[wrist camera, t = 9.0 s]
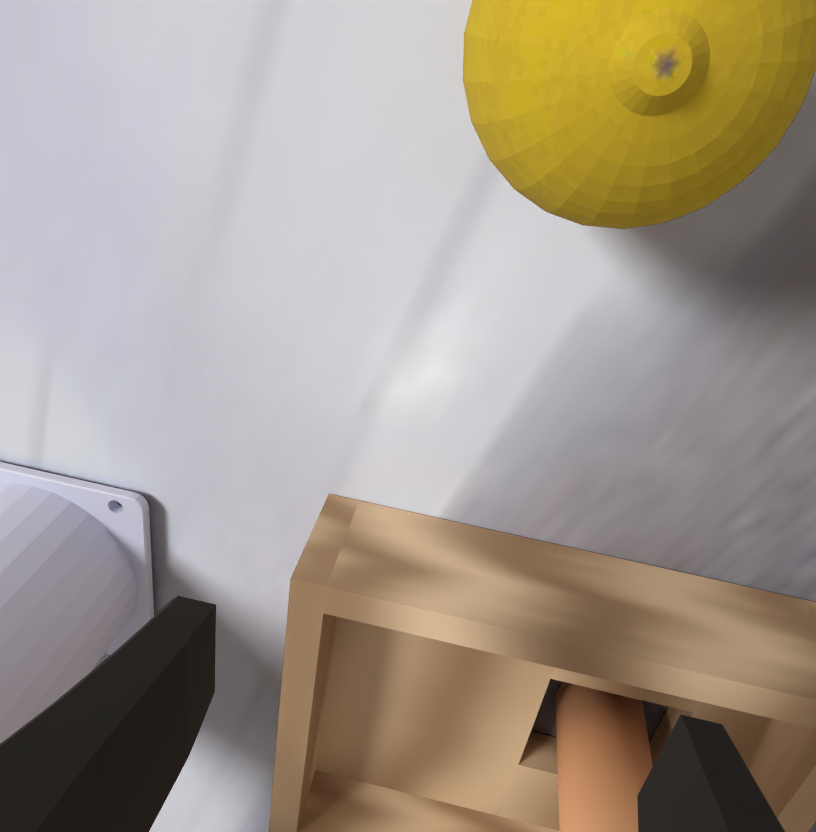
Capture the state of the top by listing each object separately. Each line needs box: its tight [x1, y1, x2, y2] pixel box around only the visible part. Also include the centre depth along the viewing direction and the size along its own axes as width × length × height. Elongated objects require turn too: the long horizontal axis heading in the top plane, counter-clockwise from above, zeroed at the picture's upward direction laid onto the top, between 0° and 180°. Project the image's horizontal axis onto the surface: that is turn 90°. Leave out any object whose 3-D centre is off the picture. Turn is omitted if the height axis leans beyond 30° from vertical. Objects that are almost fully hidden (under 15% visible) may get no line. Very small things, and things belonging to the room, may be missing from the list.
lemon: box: [463, 0, 816, 229], centre depth 12 cm, size 6×6×8 cm
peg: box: [555, 682, 653, 832], centre depth 21 cm, size 3×3×8 cm
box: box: [269, 494, 816, 832], centre depth 23 cm, size 16×13×4 cm
